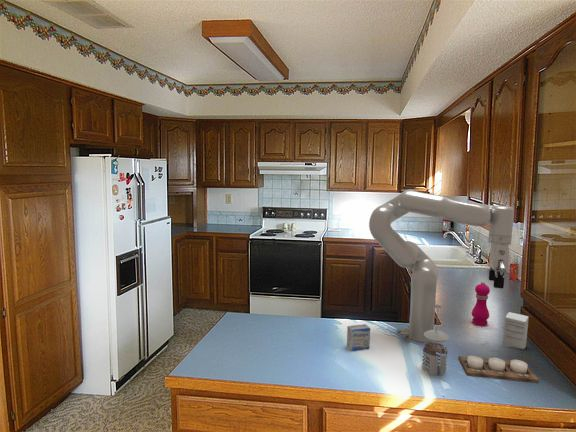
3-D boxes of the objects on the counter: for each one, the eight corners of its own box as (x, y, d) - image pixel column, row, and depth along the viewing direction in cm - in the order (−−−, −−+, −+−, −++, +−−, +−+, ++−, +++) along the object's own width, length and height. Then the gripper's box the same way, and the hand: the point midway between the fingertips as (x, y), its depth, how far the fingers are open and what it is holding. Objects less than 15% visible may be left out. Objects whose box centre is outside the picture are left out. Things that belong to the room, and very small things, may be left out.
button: (490, 372, 137) (491, 363, 137) (486, 365, 142) (486, 356, 141) (506, 374, 136) (507, 365, 136) (501, 366, 141) (502, 358, 141)
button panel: (466, 379, 135) (466, 371, 135) (458, 362, 147) (458, 355, 147) (538, 386, 131) (538, 379, 131) (523, 368, 143) (524, 361, 143)
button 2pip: (512, 374, 136) (513, 366, 135) (507, 367, 141) (508, 358, 140) (529, 376, 135) (530, 367, 134) (523, 369, 140) (524, 360, 139)
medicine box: (351, 351, 154) (351, 330, 153) (346, 346, 158) (347, 325, 157) (369, 349, 156) (370, 328, 155) (364, 344, 160) (365, 323, 159)
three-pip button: (468, 370, 138) (469, 361, 138) (465, 363, 143) (465, 354, 143) (484, 372, 137) (485, 363, 137) (480, 364, 142) (480, 356, 142)
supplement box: (505, 341, 165) (508, 311, 164) (526, 346, 161) (529, 316, 159) (501, 347, 160) (504, 316, 158) (523, 353, 155) (526, 321, 153)
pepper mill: (490, 327, 179) (494, 283, 176) (473, 326, 180) (476, 282, 177) (486, 321, 186) (489, 279, 183) (469, 319, 187) (472, 278, 184)
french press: (441, 366, 144) (446, 298, 141) (456, 384, 132) (461, 311, 129) (414, 366, 144) (418, 298, 140) (426, 384, 132) (431, 311, 129)
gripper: (516, 244, 139) (512, 292, 142) (505, 235, 156) (501, 278, 158) (493, 242, 142) (488, 289, 144) (484, 234, 158) (481, 276, 160)
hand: (495, 284), depth 151 cm, fingers open, 9 cm apart
